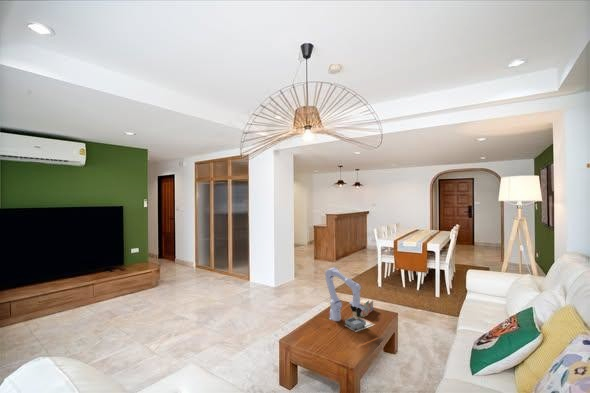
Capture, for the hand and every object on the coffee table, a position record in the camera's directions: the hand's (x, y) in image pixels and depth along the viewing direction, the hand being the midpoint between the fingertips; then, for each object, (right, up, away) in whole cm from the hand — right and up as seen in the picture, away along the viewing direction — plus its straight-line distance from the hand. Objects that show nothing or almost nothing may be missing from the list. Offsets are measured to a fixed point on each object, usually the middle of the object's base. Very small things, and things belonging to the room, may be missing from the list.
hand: (356, 315), depth 228 cm
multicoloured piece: (+14, -9, +26) cm, 31 cm away
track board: (+3, -9, +2) cm, 10 cm away
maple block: (0, -2, 0) cm, 2 cm away
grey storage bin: (-1, -8, -1) cm, 8 cm away
